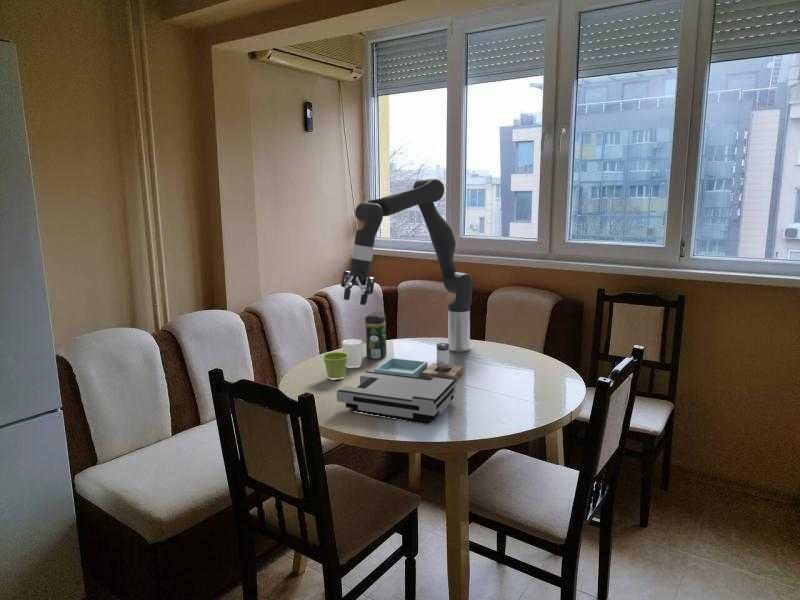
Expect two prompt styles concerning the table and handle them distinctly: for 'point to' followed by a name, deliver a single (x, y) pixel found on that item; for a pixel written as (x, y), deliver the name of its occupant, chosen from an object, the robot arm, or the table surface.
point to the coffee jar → (375, 335)
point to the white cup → (353, 351)
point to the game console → (399, 396)
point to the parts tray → (403, 367)
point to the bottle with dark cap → (443, 357)
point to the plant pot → (335, 364)
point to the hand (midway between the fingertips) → (354, 302)
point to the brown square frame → (432, 372)
